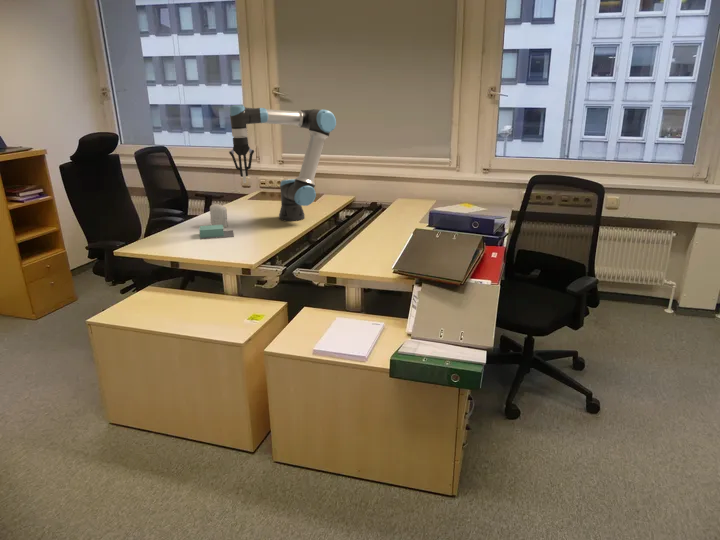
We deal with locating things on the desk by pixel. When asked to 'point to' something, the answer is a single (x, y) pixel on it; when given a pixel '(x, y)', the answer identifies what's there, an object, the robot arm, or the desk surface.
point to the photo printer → (218, 215)
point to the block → (211, 231)
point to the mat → (226, 234)
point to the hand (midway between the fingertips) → (244, 182)
